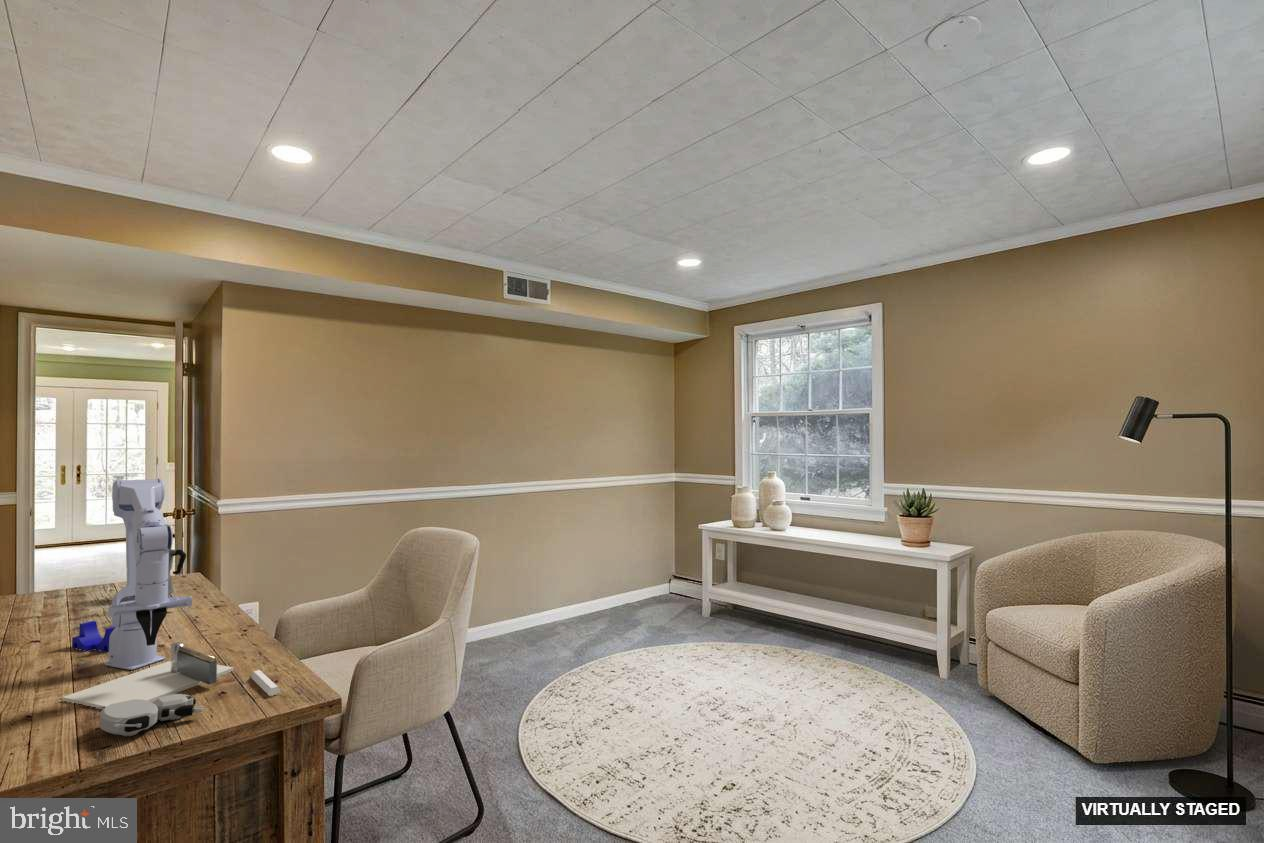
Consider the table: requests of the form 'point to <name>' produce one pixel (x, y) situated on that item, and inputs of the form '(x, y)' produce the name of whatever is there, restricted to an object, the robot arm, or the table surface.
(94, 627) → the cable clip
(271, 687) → the marker
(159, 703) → the robot toy
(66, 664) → the table surface
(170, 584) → the coffeepot
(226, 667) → the gate board
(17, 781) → the table surface
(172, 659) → the gate post
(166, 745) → the table surface
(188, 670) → the gate
